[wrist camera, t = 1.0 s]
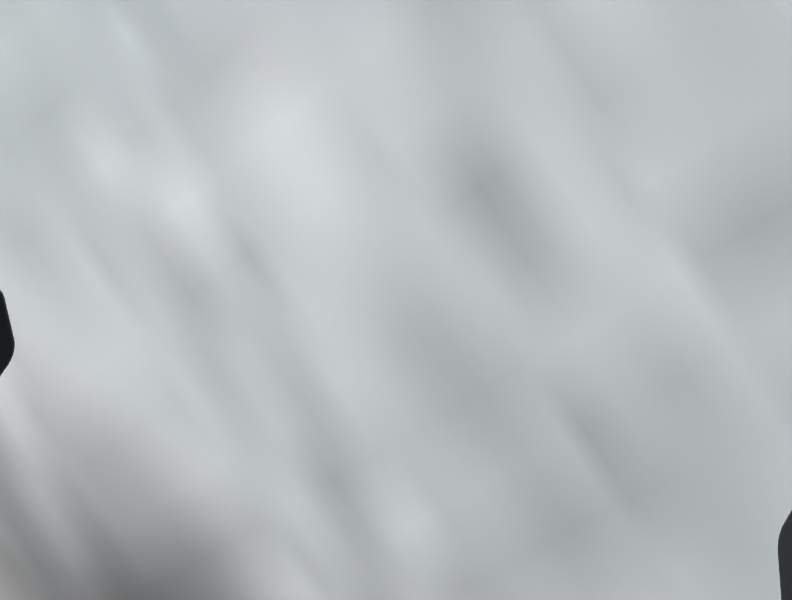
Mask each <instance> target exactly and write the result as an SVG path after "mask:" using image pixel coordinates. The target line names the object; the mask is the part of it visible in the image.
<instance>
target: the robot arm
mask: <svg viewBox="0 0 792 600" xmlns="http://www.w3.org/2000/svg"><path fill="white" fill-rule="evenodd" d="M14 345H15V342H14V337H13V332H12V328H11V324H10V320H9V315H8V311H7V307H6V303H5V298H4V295H3V293H2V292H1V290H0V376H1V374H2V373H3V371H4V370H5V368H6V367H7V366H8V364H9V362H10V361H11V358H12V356H13V352H14ZM778 560H779V573H780V587H781V600H792V511H791V512H790V514H789V516H788V518H787V519H786V521H785V523H784V524H783V527H782V529H781V532H780V535H779V540H778Z"/></svg>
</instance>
